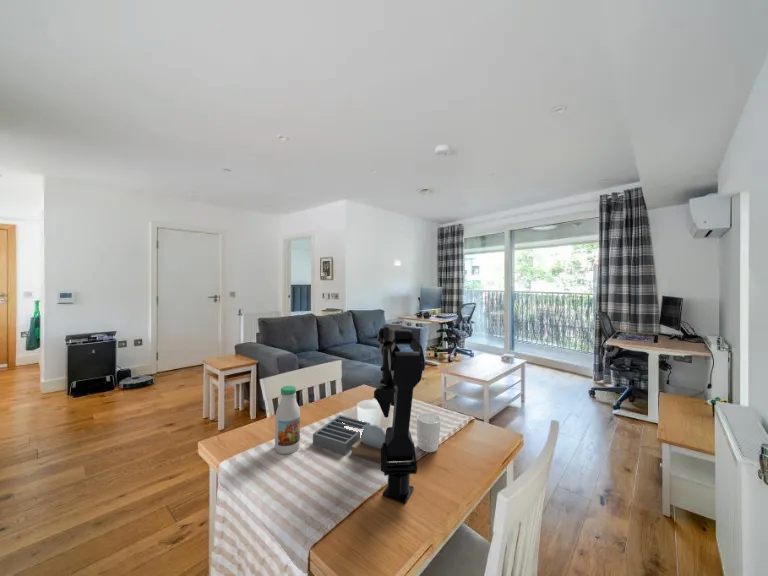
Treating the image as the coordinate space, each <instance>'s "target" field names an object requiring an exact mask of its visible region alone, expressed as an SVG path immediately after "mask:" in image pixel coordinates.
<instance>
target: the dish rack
mask: <svg viewBox="0 0 768 576" xmlns="http://www.w3.org/2000/svg"><path fill="white" fill-rule="evenodd" d="M362 421H363V420H361V421H359V419H356V418H352V417H350V416H346V415H341V414H339V415H338V416H336V417H335V418H334V419H332V420H331V421H329V422H327V424H325V425H324V426H322V427H320V428H319V429H317V430H316V431H315V432H314V433H312V445H315V446H318V447H320V448H324V449H326V450H330V451H333V452H337V453H340V454H342V455H347V454H349V453H350V451H351V449H352V446H353V445H354V444H355V443H356V442H357V441H358V440H359V439H360V432H359V431H358V432H356V431H353V430H349V429H346V428H344V426H349V427H353V428H358V429H365V428H366V427H367V426H369V425H371V423H370V422H368V421H364V422H362ZM342 422H343V423H345V424H343V423H342Z"/></svg>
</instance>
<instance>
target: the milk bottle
mask: <svg viewBox="0 0 768 576" xmlns="http://www.w3.org/2000/svg"><path fill="white" fill-rule="evenodd" d="M296 391H297V388H296V386H294V385H284V386H282V387H281V388H280V396H281V399H280V401H279V404H278V407H277V408H276V411H275V422H274V427H275V428H274V450H275V452H276V453H277V454H280V455H289V454H292V453H295V452H297V451H298V450H299V449H300V447H301V445H300V444H301V443H300V442H301V440H300V439H301V410H300V406H299V404H298V402H297V400H296V394H297V393H296Z"/></svg>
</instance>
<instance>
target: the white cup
mask: <svg viewBox="0 0 768 576" xmlns="http://www.w3.org/2000/svg"><path fill="white" fill-rule="evenodd" d="M441 419H442V418H441V417H440V415H438V414H436V413H432V412H422V413H419V414H418V415H417V416H416V439H417V448H418V447H419V448H420V449H422V450H425V451H426V452H425V453H435V452H436V451H438V450H439V449H438V448H439V441H440V434H441V433H440V432H441V423H442V420H441ZM419 448H418V449H419ZM420 449H419V450H420Z"/></svg>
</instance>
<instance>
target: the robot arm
mask: <svg viewBox="0 0 768 576" xmlns="http://www.w3.org/2000/svg"><path fill="white" fill-rule="evenodd" d="M376 339H377V341H376V342H377V343H378V344H379V347H378V348H379V353H380V354H381V355H382V361H381V364H382V366H381V367H380V371H381V378H380V380H379V381H380V382H379V383H380V384H381V385H377V387H376V389H375V390H374V391H373V398H374V400H376V402H377V403H378V406H379V407H380V410H381V412H382V414H383V417H384V418H388V417H389V415H390V410H391V407H393V412H392V413H393V414H392V426H388V427H386V428H385V433H386V435H385V443H383V444H382V447H381V449H380V453H381V464H380V472H382V474H383V475H384V476H387V486H386V488H385V489H384V490H383V492H382V496H383V497H385V498H388V499H392V500H393V501H396V502H399V503H402V504H406V503H407V501H408V500H409V498H410V496H411V495H412V493H413V491H414V489H415V488H414V486H413V485H410V481H411V479H410V478H411V477H410V476H411V475H417V473H418V466H417V465H418V464H417V455H416V446H415V443H414V441H413V438H412V433H411V432H410V424H411V423H410V422H411V413H412V407H413V406H412V404H413V396H414V389H415V387H416V386H417V385H418V384H419V383H420V382H421V380H422V376H423V372H424V371H425V369H426V360H425V353H424V351H423V347H422V345H421V344H420V343H419V342H418V341H417V340H416V339H415V338H414V334H413V330H411V329H406V328H404V327H403V325H402V324H383V325H382V326H381V327H380V328H379V331H378V333H377V338H376ZM401 345H402V346H406V345H408V346H409V348H410V349H411V350H412V351H401V348H400V347H399V346H401ZM387 462H388V463H387Z"/></svg>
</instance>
